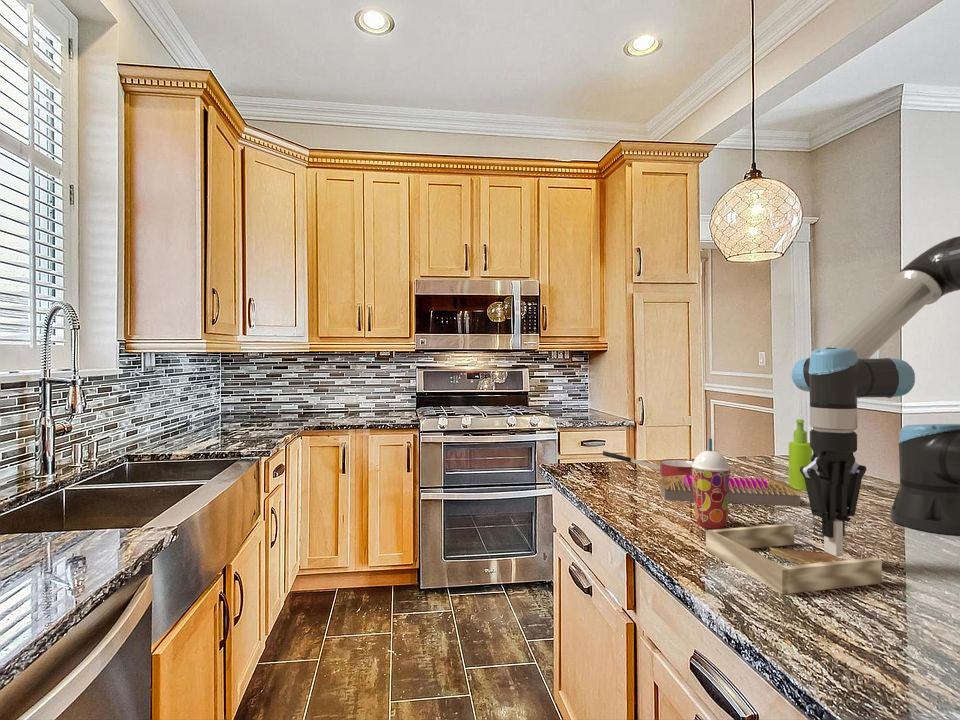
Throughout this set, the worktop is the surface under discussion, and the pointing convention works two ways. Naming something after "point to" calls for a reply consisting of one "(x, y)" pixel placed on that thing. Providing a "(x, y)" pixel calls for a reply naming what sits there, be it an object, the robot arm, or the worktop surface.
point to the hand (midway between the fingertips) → (833, 553)
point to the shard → (803, 556)
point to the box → (787, 579)
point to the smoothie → (711, 488)
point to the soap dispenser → (799, 456)
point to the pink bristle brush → (735, 491)
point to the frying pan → (662, 465)
